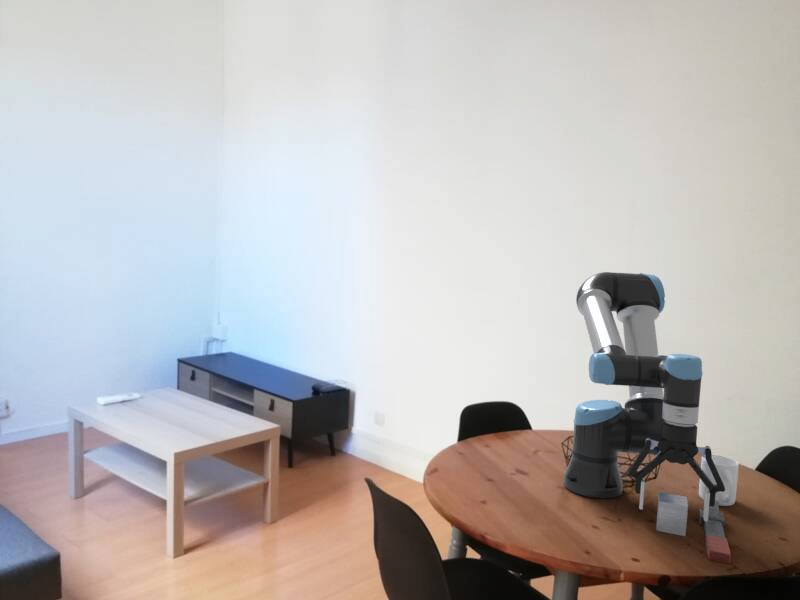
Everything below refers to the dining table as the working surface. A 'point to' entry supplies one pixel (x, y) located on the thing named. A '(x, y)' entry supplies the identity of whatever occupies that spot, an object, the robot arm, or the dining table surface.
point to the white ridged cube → (672, 514)
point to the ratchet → (715, 534)
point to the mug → (728, 476)
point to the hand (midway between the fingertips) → (672, 513)
